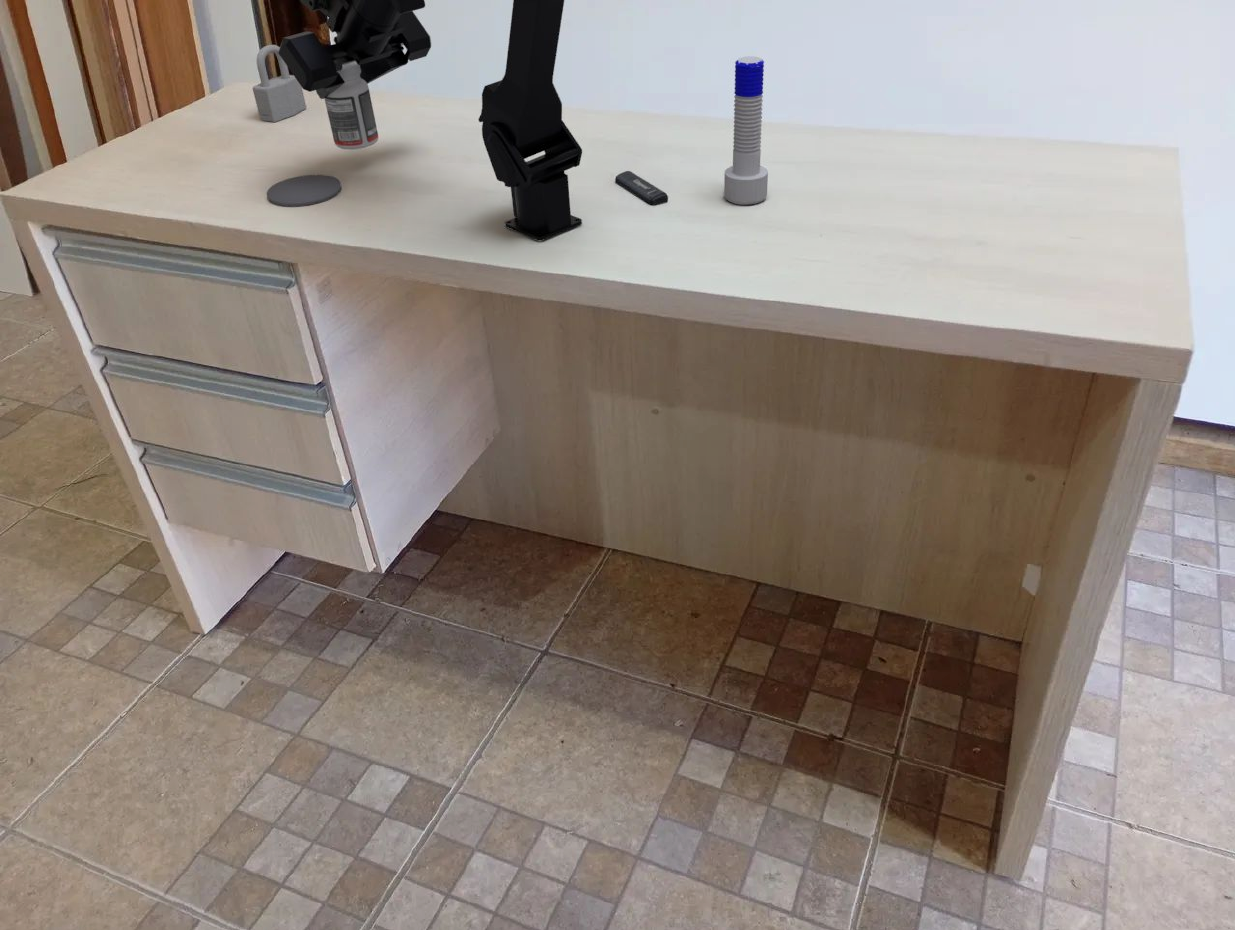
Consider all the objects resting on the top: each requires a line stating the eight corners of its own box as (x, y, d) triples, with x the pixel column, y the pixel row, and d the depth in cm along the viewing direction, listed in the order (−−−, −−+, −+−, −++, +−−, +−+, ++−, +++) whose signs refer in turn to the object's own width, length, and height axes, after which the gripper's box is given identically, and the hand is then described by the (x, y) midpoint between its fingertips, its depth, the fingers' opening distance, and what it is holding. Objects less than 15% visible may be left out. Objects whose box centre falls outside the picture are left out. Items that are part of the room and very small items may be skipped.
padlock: (290, 106, 158) (274, 38, 152) (310, 109, 156) (294, 40, 150) (257, 120, 153) (239, 50, 147) (277, 123, 151) (260, 53, 145)
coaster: (355, 190, 128) (354, 186, 127) (290, 212, 123) (289, 208, 123) (318, 173, 133) (317, 169, 133) (255, 194, 128) (253, 189, 128)
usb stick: (613, 184, 127) (612, 172, 126) (632, 180, 128) (631, 168, 127) (651, 210, 120) (650, 197, 119) (670, 204, 121) (670, 192, 120)
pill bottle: (365, 133, 137) (349, 55, 131) (387, 142, 133) (372, 63, 127) (326, 144, 134) (309, 65, 128) (348, 154, 130) (331, 73, 124)
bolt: (770, 191, 122) (761, 207, 118) (729, 188, 123) (719, 204, 119) (777, 54, 112) (767, 67, 108) (732, 52, 114) (721, 65, 110)
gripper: (399, -66, 123) (362, 21, 136) (265, -38, 112) (239, 54, 125) (452, 11, 123) (410, 91, 136) (324, 46, 112) (291, 130, 125)
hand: (339, 89), depth 130 cm, fingers closed on pill bottle, 6 cm apart
